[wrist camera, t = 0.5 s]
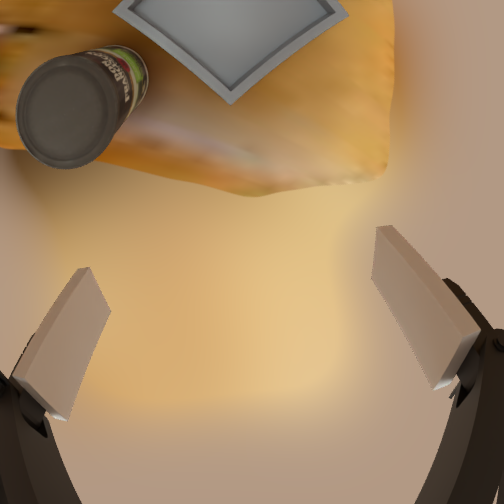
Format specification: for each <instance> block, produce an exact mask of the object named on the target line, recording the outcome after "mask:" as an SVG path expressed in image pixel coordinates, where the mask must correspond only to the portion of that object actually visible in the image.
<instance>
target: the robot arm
mask: <svg viewBox="0 0 504 504" xmlns="http://www.w3.org/2000/svg"><path fill="white" fill-rule="evenodd" d="M371 279H372V280H373V282H374V284H375V285H376V287H377V288H378V290H379V292H380V293H381V295H382V296H383V298H384V300H385V302H386V303H387V305H388V307H389V309H390V310H391V312H392V314H393V316H394V317H395V319H396V321H397V323H398V324H399V326H400V328H401V330H402V332H403V333H404V335H405V337H406V339H407V341H408V342H409V345H410V346H411V348H412V350H413V352H414V354H415V356H416V358H417V360H418V362H419V363H420V366H421V368H422V370H423V372H424V374H425V376H426V378H427V380H428V382H429V384H430V386H431V388H432V390H433V391H434V390H437V389H439V388H442V387H444V386H446V385H449V384H450V383H451V381H452V380H453V378H454V377H455V375H456V374H457V376H458V378H459V379H460V381H459V383H458V384H457V386H456V387H455V389H454V390H453V392H452V393H451V395H450V397H449V398H450V399H452V397H453V396H454V394H455V397H454V401H453V404H452V408H451V412H450V415H449V419H448V422H447V426H446V429H445V432H444V435H443V438H442V441H441V444H440V446H439V449H438V452H437V454H436V457H435V460H434V462H433V465H432V467H431V470H430V472H429V474H428V476H427V479H426V481H425V483H424V485H423V487H422V490H421V492H420V494H419V496H418V498H417V500H416V502H415V504H493V501H494V498H495V495H496V492H497V489H498V486H499V489H498V497H497V503H496V504H504V330H503V329H493V328H492V327H491V325H490V324H489V323H488V321H487V320H486V319H485V317H484V316H483V315H482V313H481V312H480V311H479V310H478V308H477V307H476V306H475V305H474V303H472V302H471V300H470V298H469V297H468V296H466V294H465V292H464V291H463V290H462V289H461V288H460V287H459V285H457V284H456V283H454V282H452V281H451V280H450V279H448V278H446V279H441V278H440V277H439V276H438V275H437V273H436V272H435V271H434V270H433V269H432V268H431V267H430V265H429V264H428V263H427V262H426V261H425V260H424V259H423V258H422V257H421V255H420V254H419V253H418V252H417V251H416V250H415V249H414V248H413V247H412V246H411V245H410V244H409V243H408V242H407V240H406V239H405V238H404V237H403V236H402V235H401V234H400V233H399V232H398V231H397V230H396V229H395V228H394V227H393V226H392V225H389V226H381V227H377V229H376V241H375V252H374V261H373V269H372V278H371ZM110 313H111V310H110V308H109V306H108V304H107V302H106V300H105V298H104V296H103V294H102V292H101V290H100V288H99V286H98V284H97V282H96V280H95V278H94V275H93V273H92V271H91V269H90V267H86V268H80V269H78V270H77V271H76V272H75V273H74V275H73V276H72V278H71V279H70V281H69V282H68V283H67V285H66V286H65V288H64V289H63V290H62V292H61V294H60V295H59V296H58V298H57V299H56V301H55V302H54V304H53V306H52V307H51V309H50V310H49V312H48V313H47V315H46V316H45V318H44V319H43V321H42V323H41V324H40V326H39V328H38V329H37V331H36V332H35V333H34V334H33V335H32V337H31V338H30V340H29V342H28V343H27V347H25V349H24V351H23V354H21V356H20V358H19V360H18V362H17V364H16V365H15V367H14V370H13V371H12V373H11V375H10V377H9V379H7V378H6V377H5V376H4V374H3V373H2V372H1V371H0V504H82V503H81V501H80V499H79V497H78V495H77V493H76V491H75V489H74V487H73V485H72V482H71V480H70V478H69V476H68V473H67V471H66V468H65V466H64V464H63V461H62V458H61V456H60V453H59V450H58V448H57V445H56V442H55V439H54V436H53V433H52V430H51V427H50V424H49V421H48V419H47V418H46V417H45V416H44V414H45V412H46V411H47V412H48V413H49V414H51V415H52V416H53V417H54V418H56V419H60V420H64V421H68V419H69V416H70V413H71V410H72V407H73V404H74V401H75V398H76V396H77V393H78V390H79V387H80V385H81V382H82V379H83V377H84V374H85V371H86V369H87V366H88V364H89V361H90V359H91V356H92V354H93V351H94V349H95V347H96V344H97V341H98V339H99V337H100V335H101V333H102V330H103V328H104V326H105V324H106V321H107V319H108V317H109V315H110Z"/></svg>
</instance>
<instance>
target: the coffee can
mask: <svg viewBox="0 0 504 504" xmlns="http://www.w3.org/2000/svg"><path fill="white" fill-rule="evenodd" d="M148 81H149V80H148V70H147V67H146V64H145V62H144V61H143V59H142V57H141V56H140V55H139V54H138V53H136V52H135V51H134V50H132V49H130V48H128V47H125V46H120V45H110V46H105V47H102V48H98V49H93V50H88V51H84V52H80V53H76V54H72V55H65V56H59V57H56V58H53V59H51V60H48V61H47V62H45V63H43V64H42V65H40V66H39V67H38V68H36V69H35V70H34V71H33V72H32V74H31V75H30V76H29V77H28V78H27V80H26V81H25V83H24V85H23V87H22V89H21V91H20V94H19V96H18V100H17V105H16V125H17V130H18V133H19V136H20V139H21V141H22V143H23V145H24V146H25V148H26V149H27V151H28V152H29V153H30V154H31V155H32V156H33V157H34V158H35V159H36V160H38V161H39V162H41V163H43V164H45V165H47V166H49V167H52V168H57V169H73V168H78V167H81V166H84V165H86V164H88V163H90V162H92V161H93V160H95V159H96V158H97V157H98V156H99V155H100V154H101V153H102V152H103V151H104V150H105V149H106V147H107V146H108V145H109V143H110V142H111V140H112V138H113V136H114V134H115V133H116V132H117V130H118V129H119V128H120V127H121V125H122V124H123V122H124V121H125V120H126V119H127V118H128V116H129V115H130V114H131V113H132V112H133V110H134V109H136V107H137V106H138V105H139V104H140V103H141V101H142V100H143V98H144V96H145V94H146V91H147V87H148Z"/></svg>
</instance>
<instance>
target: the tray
mask: <svg viewBox="0 0 504 504" xmlns="http://www.w3.org/2000/svg"><path fill="white" fill-rule="evenodd" d="M112 12H113V13H115V14H116V15H117V16H119V17H120V18H122V19H123V20H125V21H126V22H128V23H129V24H131V25H132V26H133V27H135V28H136V29H138V30H139V31H140V32H142V33H143V34H144V35H146V36H147V37H149V38H150V39H151V40H153V41H154V42H155V43H157V44H158V45H159V46H160V47H162V48H163V49H164V50H166V51H167V52H168V53H169V54H171V55H172V56H173V57H174V58H176V59H177V60H178V61H179V62H181V63H182V64H183V65H184V66H186V67H187V68H188V69H189V70H190V71H192V72H193V73H194V74H195V75H196V76H198V77H199V78H200V79H201V80H202V81H203V82H205V83H206V84H207V85H208V86H209V87H210V88H211V89H213V90H214V91H215V92H216V93H217V94H218V95H219V96H220V97H222V98H223V99H224V100H225V101H226V102H227V103H228V104H229V105H232V104H233V103H234V102H235V101H236V100H237V99H238V98H239V97H241V96H242V95H243V94H244V93H245V92H246V91H247V90H249V89H250V88H251V87H252V86H253V85H254V84H256V83H257V82H258V81H259V80H260V79H262V78H263V77H264V76H265V75H267V74H268V73H269V72H270V71H272V70H273V69H274V68H275V67H277V66H278V65H279V64H280V63H282V62H283V61H284V60H286V59H287V58H288V57H290V56H291V55H292V54H294V53H295V52H296V51H298V50H299V49H300V48H302V47H303V46H304V45H306V44H307V43H309V42H310V41H312V40H313V39H314V38H316V37H317V36H319V35H320V34H322V33H323V32H325V31H326V30H328V29H329V28H331V27H332V26H334V25H335V24H337V23H338V22H340V21H342V20H343V19H345V18H346V17H348V16H349V15H348V13H347V12H346V11H345V9H344V8H343V7H342V6H341V4H340V3H339V2H338V1H337V0H123V1H122V2H121V3H120V4H119V5H118V6H117V7H116V8H115V9H114V10H113V11H112Z"/></svg>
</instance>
